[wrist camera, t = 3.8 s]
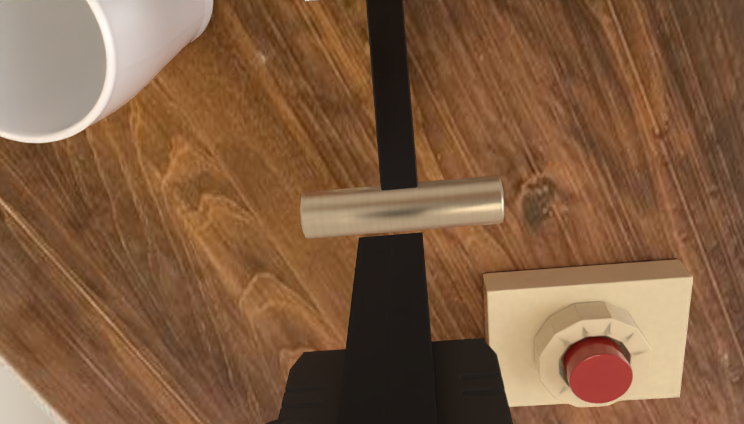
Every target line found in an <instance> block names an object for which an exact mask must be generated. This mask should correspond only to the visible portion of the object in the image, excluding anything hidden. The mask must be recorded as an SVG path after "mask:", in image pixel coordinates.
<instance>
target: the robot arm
mask: <svg viewBox="0 0 744 424" xmlns="http://www.w3.org/2000/svg"><path fill="white" fill-rule="evenodd" d="M285 389H286V392H285V393H284V397H283V401H282V408H281V410H280V414H279V418H278V420H275V421H271V422H269V423H267V424H513V422H512V418H511V413H510V409H509V405H508V400H507V396H506V393H505V387H504V383H503V379H502V376H501V370H500V366H499V361H498V357H497V354H496V353H495V351H494V350H493V349H492V348H491V347H490V346H489V345H488V344H487V343H486V342H485V341H484V340H483V338H479V339H464V340H449V341H435V342H432V341H431V329H430V317H429V305H428V294H427V282H426V270H425V259H424V247H423V235H422V233H410V234H398V235H386V236H373V237H361V238H359V242H358V251H357V259H356V267H355V276H354V284H353V293H352V301H351V309H350V318H349V326H348V335H347V343H346V349H343V350H329V351H314V352H304V353H303V354H302V355H301V357H300V358H299V359H298V360H297V362H296V363H295V364H294V365H293V366H292V368H291V369H290V372H289V376H288V380H287V384H286V388H285Z"/></svg>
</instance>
